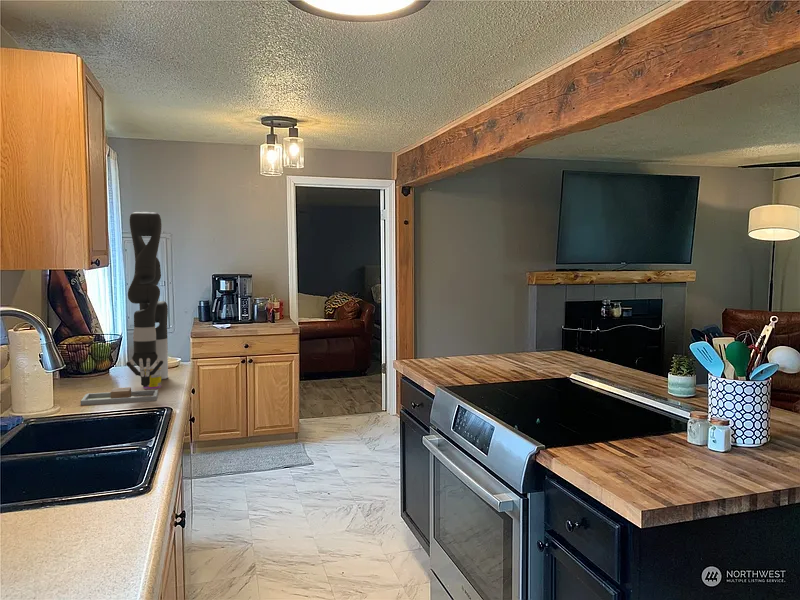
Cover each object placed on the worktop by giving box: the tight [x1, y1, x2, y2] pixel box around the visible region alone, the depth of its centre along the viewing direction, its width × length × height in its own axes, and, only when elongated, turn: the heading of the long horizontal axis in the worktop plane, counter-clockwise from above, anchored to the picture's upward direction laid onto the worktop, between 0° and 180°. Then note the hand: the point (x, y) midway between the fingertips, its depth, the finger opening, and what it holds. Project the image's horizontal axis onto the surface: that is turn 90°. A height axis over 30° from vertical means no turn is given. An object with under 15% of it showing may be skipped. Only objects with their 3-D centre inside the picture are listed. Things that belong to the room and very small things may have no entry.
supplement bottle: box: [142, 360, 162, 390], centre depth 229 cm, size 7×7×13 cm
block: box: [110, 386, 132, 398], centre depth 210 cm, size 6×6×4 cm
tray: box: [80, 389, 159, 406], centre depth 210 cm, size 11×24×2 cm, turn 109°
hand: (145, 386), depth 212 cm, fingers closed
